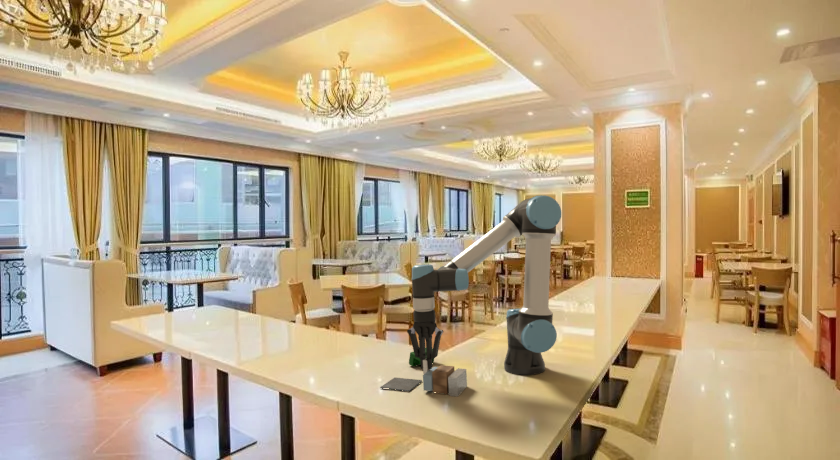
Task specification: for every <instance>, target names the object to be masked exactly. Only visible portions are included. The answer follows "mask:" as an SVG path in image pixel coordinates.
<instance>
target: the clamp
mask: <svg viewBox="0 0 840 460" xmlns="http://www.w3.org/2000/svg"><path fill="white" fill-rule="evenodd" d="M425 351H426V347H425ZM432 351H433V348H432ZM438 356H439V355H437V357H438ZM425 358H427V354H426V357H425ZM432 363H433V364H434V363H435V358H434V359H432ZM408 364H409V366H411V367H413V366H415V367H417V366H420V365H421V360H420V358H418V357H415V354H414V351H411V352H410V353H409V359H408ZM416 365H417V366H416Z"/></svg>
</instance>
